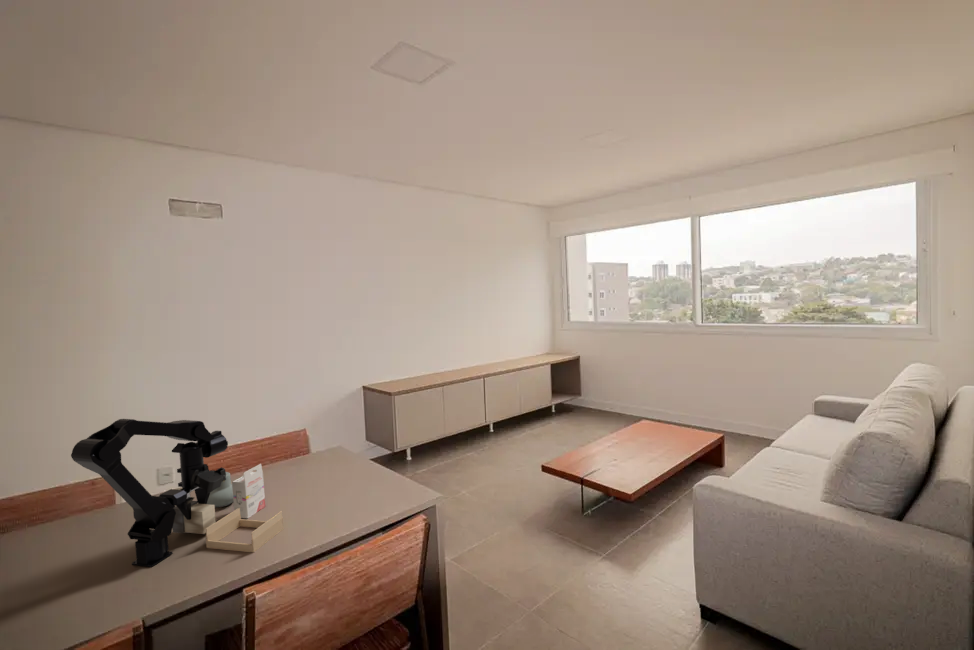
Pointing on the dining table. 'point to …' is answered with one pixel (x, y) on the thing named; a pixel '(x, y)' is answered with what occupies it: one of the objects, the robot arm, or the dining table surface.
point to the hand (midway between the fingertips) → (195, 515)
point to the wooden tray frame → (233, 521)
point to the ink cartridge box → (249, 492)
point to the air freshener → (222, 494)
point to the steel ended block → (194, 519)
